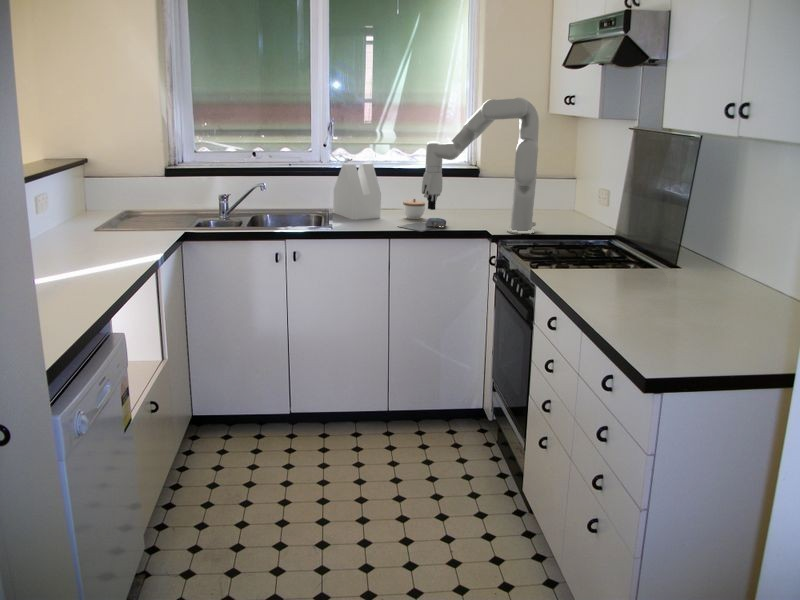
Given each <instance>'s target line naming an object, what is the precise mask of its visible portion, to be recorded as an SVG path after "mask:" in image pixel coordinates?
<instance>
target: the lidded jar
mask: <svg viewBox="0 0 800 600" xmlns="http://www.w3.org/2000/svg"><path fill="white" fill-rule="evenodd" d="M402 204H403V206H402V207H403V214H404V216H405V217H406V218H407V219H409V220H419V219H421V217H422V216H423V215H424V214H425V209H426V202H425V201H423V200H417V199H416V198H413V200H405V201H404V200H403V203H402Z"/></svg>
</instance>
